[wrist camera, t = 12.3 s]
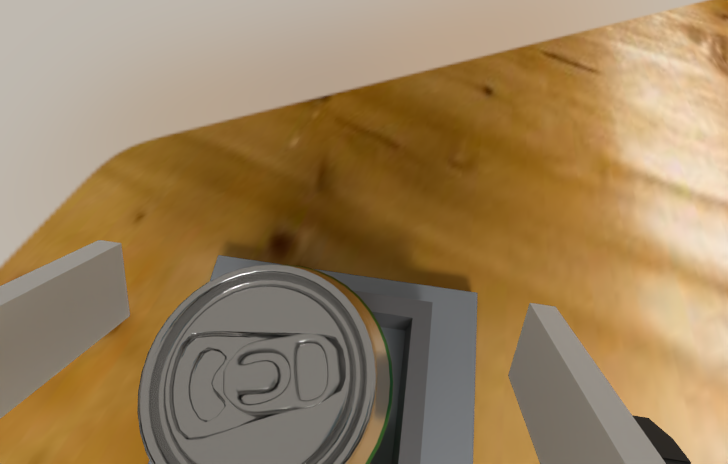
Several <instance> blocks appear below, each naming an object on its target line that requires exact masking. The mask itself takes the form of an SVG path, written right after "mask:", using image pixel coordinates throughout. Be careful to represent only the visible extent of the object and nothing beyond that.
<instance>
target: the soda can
mask: <svg viewBox="0 0 728 464" xmlns="http://www.w3.org/2000/svg"><path fill="white" fill-rule="evenodd" d="M392 396H393V372H392V361H391V357H390V353H389V349H388V344H387V341H386V339H385V336H384V334H383V331H382V329H381V327H380V325H379V323H378V321H377V320H376V318H375V316H374V315H373V313H372V311H371V310H370V309H369V307H368V306H367V305H366V304H365V303H364V301H363V300H362V299H361V298H360V297H359V296H358V295H357V294H356V293H355V292H354V291H353V290H351V289H350V288H349V287H348V286H347V285H345V284H344V283H342V282H340V281H339V280H337V279H336V278H334V277H332V276H330V275H328V274H325V273H323V272H321V271H318V270H315V269H311V268H307V267H303V266H295V265H274V264H271V265H255V266H250V267H245V268H240V269H237V270H235V271H232V272H229V273H226V274H223V275H221V276H219V277H218V278H216V279H214V280H212V281H210V282H208V283H206V284H205V285H203V286H202V287H201V288H199V289H198V290H196V291H195V292H193V293H192V294H191V295H190V296H189V297H188V298H187V299H186V300H184V301H183V302H182V303H181V304H180V305H179V306H178V307H177V308H176V310H175V311H174V312H173V313H172V314H171V315H170V317H169V318H168V319H167V320H166V322H165V323H164V325H163V326H162V328H161V330H160V331H159V333H158V334H157V336H156V338H155V340H154V342H153V344H152V346H151V348H150V350H149V352H148V355H147V358H146V361H145V364H144V367H143V370H142V374H141V379H140V385H139V391H138V419H139V427H140V434H141V437H142V441H143V444H144V447H145V451H146V453H147V455H148V457H149V459H150V461H151V463H152V464H370V462H371V460H372V458H373V457H374V455H375V453H376V451H377V449H378V448H379V446H380V443H381V441H382V438H383V435H384V432H385V430H386V427H387V424H388V420H389V415H390V410H391V406H392Z"/></svg>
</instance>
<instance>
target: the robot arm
mask: <svg viewBox="0 0 728 464" xmlns="http://www.w3.org/2000/svg"><path fill="white" fill-rule="evenodd" d="M129 316H130V312H129V303H128V295H127V287H126V279H125V271H124V263H123V255H122V246H121V243H116V242H109V241H102V240H98V241H96V242H94V243H92V244H89V245H87V246H85V247H83V248H81V249H79V250H77V251H74V252H72V253H70V254H68V255H66V256H64V257H62V258H60V259H57V260H55V261H53V262H51V263H49V264H47V265H45V266H42V267H40V268H38V269H36V270H34V271H32V272H30V273H27V274H25V275H23V276H21V277H19V278H17V279H15V280H13V281H10V282H8V283H6V284H4V285H2V286H0V418H2V417H3V416H4V415H5V414H7V413H8V412H9V411H11V410H12V409H13V408H14V407H16V406H17V405H18V404H19V403H21V402H22V401H23V400H24V399H26V398H27V397H28V396H29V395H31V394H32V393H33V392H34V391H36V390H37V389H38V388H39V387H41V386H42V385H43V384H45V383H46V382H47V381H48V380H50V379H51V378H52V377H53V376H55V375H56V374H57V373H58V372H60V371H61V370H62V369H63V368H65V367H66V366H67V365H68V364H70V363H71V362H72V361H74V360H75V359H76V358H77V357H79V356H80V355H81V354H82V353H84V352H85V351H86V350H87V349H89V348H90V347H91V346H92V345H94V344H95V343H96V342H97V341H99V340H100V339H101V338H102V337H104V336H105V335H106V334H108V333H109V332H110V331H111V330H113V329H114V328H115V327H116V326H118V325H119V324H120V323H121V322H123V321H124V320H125V319H126V318H128V317H129ZM508 376H509V379H510V382H511V384H512V387H513V390H514V393H515V395H516V398H517V401H518V404H519V406H520V409H521V412H522V415H523V418H524V420H525V423H526V426H527V429H528V431H529V434H530V437H531V440H532V442H533V445H534V448H535V451H536V453H537V456H538V459H539V462H540V464H691V462H690V460H689V459H688V458H687V457H686V455H685V454H684V453H683V451H682V450H681V449H680V448H679V446H678V445H677V444H676V442H675V441H674V440H673V439H672V438H671V437H670V436H669V435H668V434H666V433H665V432H664V431H663V430H662V429H661V428H659V427H658V426H657V425H656V424H655V423H654V422H652V421H651V420H650V419H649V418H645V417H638V416H632V415H631V413H630V412H629V410H628V409H627V408H626V406H625V405H624V403H623V402H622V400H621V399H620V398H619V396H618V395H617V393H616V392H615V391H614V389H613V388H612V386H611V385H610V383H609V382H608V381H607V379H606V378H605V376H604V375H603V373H602V372H601V371H600V369H599V368H598V366H597V365H596V364H595V362H594V361H593V359H592V358H591V356H590V355H589V354H588V352H587V351H586V349H585V348H584V347H583V345H582V344H581V342H580V341H579V339H578V338H577V337H576V335H575V334H574V332H573V331H572V329H571V328H570V327H569V325H568V324H567V322H566V321H565V320H564V318H563V317H562V315H561V314H560V312H559V311H558V310H557V308H556V307H555V306H548V305H541V304H534V303H530V304H529V307H528V311H527V314H526V317H525V321H524V324H523V327H522V331H521V334H520V338H519V341H518V344H517V348H516V351H515V354H514V358H513V361H512V365H511V368H510V371H509V375H508Z"/></svg>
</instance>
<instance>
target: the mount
mask: <svg viewBox="0 0 728 464" xmlns="http://www.w3.org/2000/svg"><path fill="white" fill-rule="evenodd" d="M271 264H274V265H282V264H275V263H269V262H262V261H255V260H248V259H241V258H234V257H227V256H220V255H218V258H217V261H216V264H215V267H214V270H213V273H212V276H211V279H210V281H212V280H214V279H216V278H218V277H219V276H221V275H223V274H226V273H229V272H232V271H235V270H237V269H240V268H245V267H250V266H255V265H271ZM315 270H317V269H315ZM318 271H321V272H323V273H325V274H328V275H330V276H332V277H334V278H336V279H337V280H339V281H340V282H342V283H344V284H345V285H347V286H348V287H349V288H350V289H351V290H353V291H354V292H355V293H356V294H357V295H358V296H359V297H360V298H361V299H362V300H363V301H364V303H365V304H366V305H367V306H368V307H369V309H370V310H371V311H372V313H373V315H374V316H375V318H376V320H377V321H378V323H379V325H380V327H381V329H382V331H383V334H384V336H385V339H386V341H387V344H388V349H389V353H390V357H391V361H392V372H393V396H392V406H391V410H390V415H389V420H388V424H387V427H386V430H385V432H384V435H383V438H382V441H381V443H380V446H379V448H378V449H377V451H376V453H375V455H374V457H373V458H372V460H371V462H370V464H473V440H474V402H475V365H476V328H477V293H475V292H468V291H461V290H454V289H447V288H440V287H434V286H427V285H420V284H413V283H406V282H399V281H392V280H385V279H379V278H372V277H365V276H358V275H351V274H344V273H337V272H330V271H324V270H318ZM148 464H152V463H151V461H149V463H148Z"/></svg>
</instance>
